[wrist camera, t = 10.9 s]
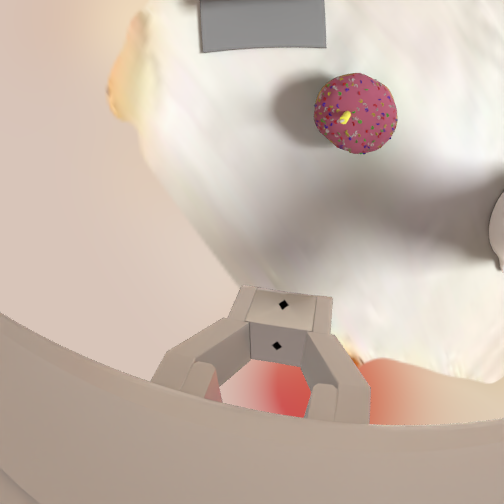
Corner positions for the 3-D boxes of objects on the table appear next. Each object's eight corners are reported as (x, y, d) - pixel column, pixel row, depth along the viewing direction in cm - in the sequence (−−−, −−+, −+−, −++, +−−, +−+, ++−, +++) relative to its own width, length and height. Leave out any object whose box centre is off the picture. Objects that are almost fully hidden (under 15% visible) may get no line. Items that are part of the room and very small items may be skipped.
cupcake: (312, 136, 33) (307, 168, 24) (318, 67, 28) (315, 65, 19) (383, 148, 32) (407, 186, 22) (392, 80, 27) (425, 87, 17)
